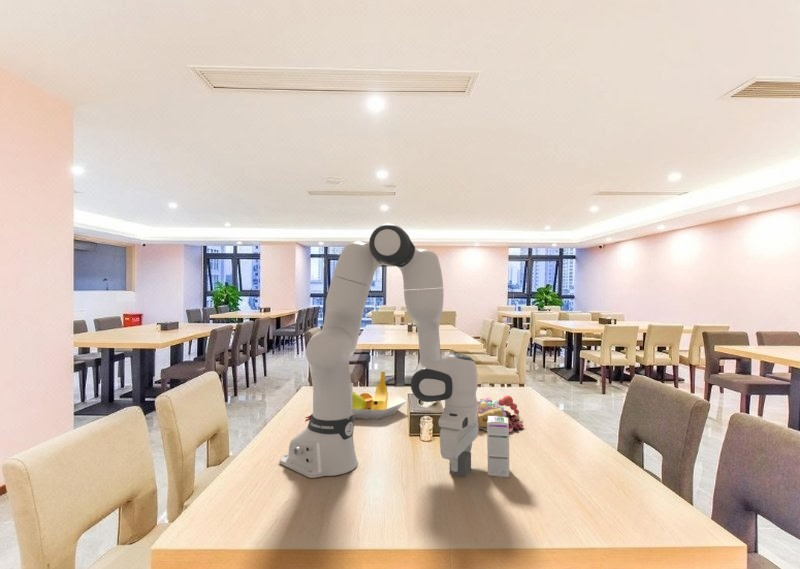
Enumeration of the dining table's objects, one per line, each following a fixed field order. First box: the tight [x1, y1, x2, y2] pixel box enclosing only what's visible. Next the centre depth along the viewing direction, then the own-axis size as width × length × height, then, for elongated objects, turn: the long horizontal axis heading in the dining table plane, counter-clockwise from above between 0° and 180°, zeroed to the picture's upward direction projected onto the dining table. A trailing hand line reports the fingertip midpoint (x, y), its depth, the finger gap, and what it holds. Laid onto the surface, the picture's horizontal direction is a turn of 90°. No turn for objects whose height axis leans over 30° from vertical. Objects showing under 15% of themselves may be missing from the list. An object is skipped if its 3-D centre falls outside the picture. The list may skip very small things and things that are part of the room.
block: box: [449, 451, 472, 478], centre depth 111 cm, size 4×4×5 cm
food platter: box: [477, 395, 524, 433], centre depth 153 cm, size 25×24×9 cm
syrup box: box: [486, 416, 510, 478], centre depth 111 cm, size 6×6×14 cm
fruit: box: [352, 371, 407, 420], centre depth 165 cm, size 30×26×14 cm
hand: (461, 464), depth 111 cm, fingers open, 8 cm apart
